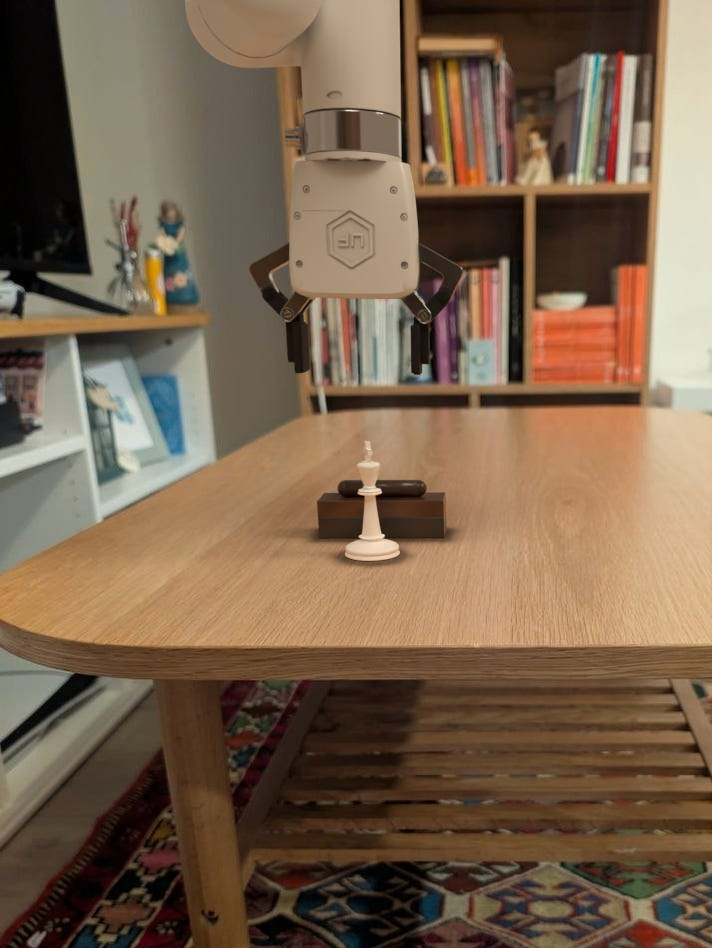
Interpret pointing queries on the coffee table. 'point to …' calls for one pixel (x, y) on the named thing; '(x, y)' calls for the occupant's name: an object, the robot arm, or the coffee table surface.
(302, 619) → the coffee table surface
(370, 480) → the chess piece
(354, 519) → the brush
